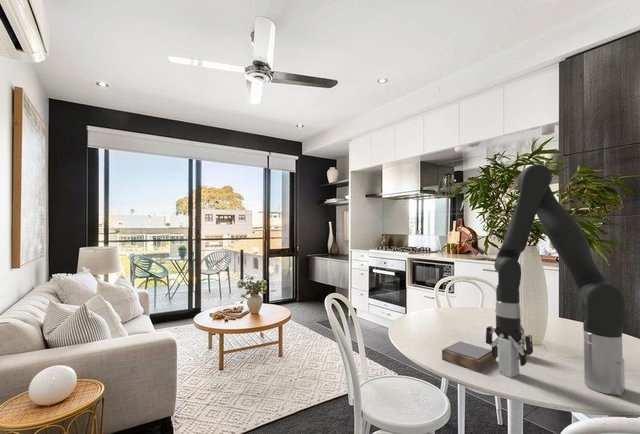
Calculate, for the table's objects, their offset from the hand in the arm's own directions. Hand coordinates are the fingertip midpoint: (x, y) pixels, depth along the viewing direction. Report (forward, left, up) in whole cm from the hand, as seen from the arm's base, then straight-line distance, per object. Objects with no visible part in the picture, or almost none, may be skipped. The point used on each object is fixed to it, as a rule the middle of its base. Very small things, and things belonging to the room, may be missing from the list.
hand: (508, 361), depth 112 cm
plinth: (+14, 0, -4) cm, 15 cm away
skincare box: (0, 0, -4) cm, 4 cm away
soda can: (+5, -19, -4) cm, 20 cm away
